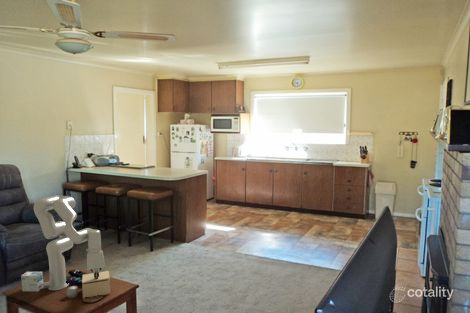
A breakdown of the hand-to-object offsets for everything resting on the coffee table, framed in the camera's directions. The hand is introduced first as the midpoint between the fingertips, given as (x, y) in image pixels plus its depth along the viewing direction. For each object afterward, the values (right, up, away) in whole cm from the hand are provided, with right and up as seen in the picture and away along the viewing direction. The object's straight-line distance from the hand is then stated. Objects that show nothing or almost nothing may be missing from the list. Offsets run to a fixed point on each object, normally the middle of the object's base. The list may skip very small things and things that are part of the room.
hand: (96, 278), depth 227 cm
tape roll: (-15, -11, -1) cm, 18 cm away
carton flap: (-2, -1, +4) cm, 4 cm away
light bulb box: (-45, -11, +9) cm, 47 cm away
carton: (-2, -10, +4) cm, 11 cm away
